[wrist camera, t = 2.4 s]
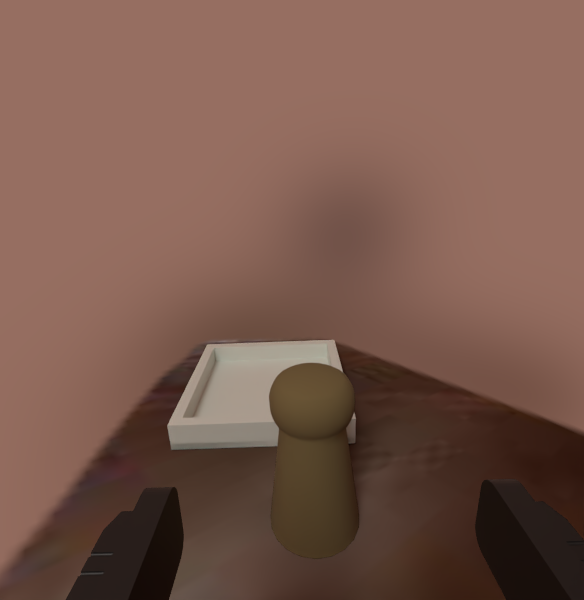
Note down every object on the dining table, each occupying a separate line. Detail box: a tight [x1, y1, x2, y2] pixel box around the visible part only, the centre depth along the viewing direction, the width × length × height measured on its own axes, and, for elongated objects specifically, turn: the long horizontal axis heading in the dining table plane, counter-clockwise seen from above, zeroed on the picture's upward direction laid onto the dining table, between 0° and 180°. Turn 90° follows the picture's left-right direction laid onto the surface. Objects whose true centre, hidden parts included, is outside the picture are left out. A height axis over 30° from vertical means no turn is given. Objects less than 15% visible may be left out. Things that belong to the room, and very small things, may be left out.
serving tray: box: [167, 340, 356, 450], centre depth 39 cm, size 16×16×2 cm
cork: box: [269, 363, 359, 559], centre depth 23 cm, size 6×6×11 cm
